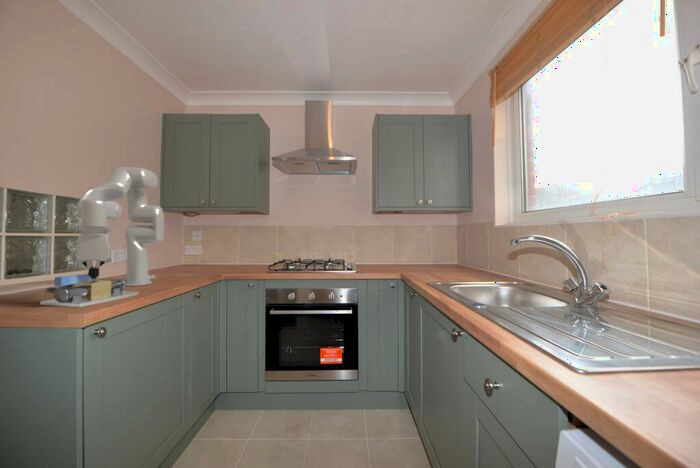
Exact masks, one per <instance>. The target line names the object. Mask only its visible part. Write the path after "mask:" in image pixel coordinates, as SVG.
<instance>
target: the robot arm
mask: <svg viewBox="0 0 700 468" xmlns="http://www.w3.org/2000/svg"><path fill="white" fill-rule="evenodd" d="M158 184H159V182H158V176H157V175H156V174H155V172H154V171H151V170H148V169H146V168H145V167H144V168H143V167H136V166H117V167H115V168H114V169H113V170H112V172H111V174H110V175H109V177H108V179H107V180H106V182H105V183H104V184H101V185H98V186H96V187H94V188H91V189H90V190H89V189H88V190H87V191H85V193H83V195H82V196H81V197H80V199H79V201H78V202H77V205H76V213H77V215H78V216H79V217H80V218H81V219H80V221H81V224H80V225H81V226H80V230H81V232H80V234H78V238H77V243H76V252H75V257H76V259H75V262H74V263H75V264H78V265H82V266H84V267H86V268H87V269H88V272H89V277H91V279H93V278H94V279H96V278H97V276H99V277H100V268H101V267H102V266H103V265H105V264H110V263H112V258H111V257H112V245H111V237H110V235H109V234H107V233H111V232H112V228H108V227H107V226H108V225H107V220H115V219H118V218H119V217H121V215H122V212H123V210H122V206H121V205H120V204H119V203H118V202H116V201H113V200H117V199H121V198H124V197H125V196H126V199H127V216H128V220H129V221H130V222H131V223H139V224H140V225H139V224H137V225H136V224H135V225H133V224H132V225H129V226H128V227H126V228H125V229H124V230H125V231H124V236H125V237H124V238H125V241H126V242H125V244H126V281H125V283H126V287H135V286H147V285H150V284H152V282H153V281H151V280H154V279H155V278H156V275H154V274H151V275H150V274H149V252H150V251H149V249H148V248H147V247H146V245H145V244H159V243H162V242H163V241H164V239H165V222H164V221H165V217H164V216H165V215H164V211H163V208H162V207H161V206H159V205H155V204H154V205H151V204H148V195H147V194H146V192H145V191H144V190H143V189H147V190H153V189H156V187H157V186H158ZM143 224H148V225H143ZM150 224H152V225H150ZM93 261H95V262H96V263H95V266H93Z"/></svg>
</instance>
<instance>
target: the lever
mask: <svg viewBox="0 0 700 468" xmlns="http://www.w3.org/2000/svg"><path fill="white" fill-rule="evenodd" d="M97 280H100V275H99V276H97V278H96V279H94V278H93V279H91V277H89V271H88V272H87V273H82V274H76V275H75V274H74V275H60V276H55V277H54V287H62V286H65V285H70V284H73V285H75V283H82V282H89V281H97Z"/></svg>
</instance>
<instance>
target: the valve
mask: <svg viewBox="0 0 700 468" xmlns="http://www.w3.org/2000/svg"><path fill="white" fill-rule="evenodd" d="M61 287H66V288H70V287H75V284H70V285H65V286H61ZM57 288H58V287H46V288H45V291H50V292H55V291H56V289H57Z"/></svg>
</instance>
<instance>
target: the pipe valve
mask: <svg viewBox="0 0 700 468" xmlns="http://www.w3.org/2000/svg"><path fill="white" fill-rule="evenodd" d="M125 282H126V281H125V280H124V279H123V278H117V279H115V280H109V279H108V280H104V279H99V280H97V281H89V282H82V283H75V284H74V285H75V287H70V288H66V287H62V286H58V287H56V288H57V289H56V291H54V296H53V297H54V298H53V299H47V300H46V299H45V300H42V301H40V302H39V303H40V306H53V307H56V306H57V307H72V308H73V307H74V308H82V307H87V306H91V305H97V304H102V303H106V302H109V301H115V300H120V299H124V298H128V297H133V296H138V295H139V292H138V291H128V290H127V291H125V289H126V287H127V286H126V283H125Z"/></svg>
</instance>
